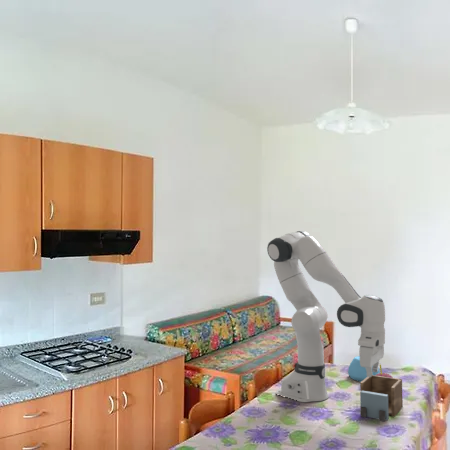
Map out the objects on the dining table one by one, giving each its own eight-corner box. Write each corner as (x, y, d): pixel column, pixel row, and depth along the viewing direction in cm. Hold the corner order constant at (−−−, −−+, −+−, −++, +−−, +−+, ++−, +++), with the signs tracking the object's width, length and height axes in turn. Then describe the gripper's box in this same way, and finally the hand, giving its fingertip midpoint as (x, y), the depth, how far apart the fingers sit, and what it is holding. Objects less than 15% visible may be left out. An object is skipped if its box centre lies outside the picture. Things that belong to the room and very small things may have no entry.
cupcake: (383, 393, 212) (383, 365, 212) (369, 388, 219) (369, 361, 220) (398, 390, 216) (397, 363, 216) (383, 385, 223) (383, 359, 224)
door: (389, 417, 183) (388, 393, 184) (387, 420, 180) (386, 396, 181) (363, 412, 189) (362, 389, 189) (360, 415, 186) (360, 391, 186)
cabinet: (355, 415, 185) (355, 386, 186) (370, 401, 202) (369, 374, 202) (390, 422, 178) (389, 392, 179) (402, 406, 195) (402, 379, 195)
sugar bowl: (357, 383, 226) (357, 359, 227) (342, 375, 241) (342, 351, 241) (386, 381, 230) (385, 356, 230) (369, 372, 244) (369, 349, 245)
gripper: (372, 332, 196) (371, 366, 195) (356, 341, 178) (356, 379, 178) (388, 334, 192) (387, 369, 192) (373, 344, 175) (373, 382, 175)
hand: (372, 374), depth 185 cm, fingers open, 6 cm apart
